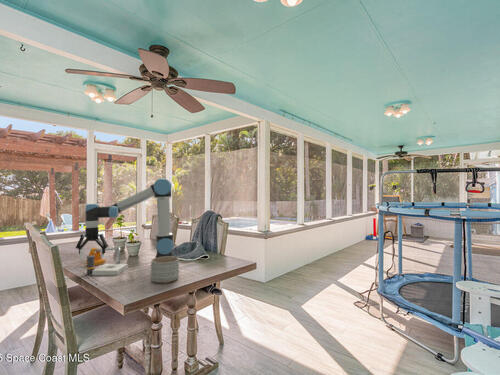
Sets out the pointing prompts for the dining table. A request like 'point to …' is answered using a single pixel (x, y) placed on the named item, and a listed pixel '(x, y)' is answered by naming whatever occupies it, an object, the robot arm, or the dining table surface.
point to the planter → (164, 269)
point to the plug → (90, 264)
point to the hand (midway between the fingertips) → (92, 258)
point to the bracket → (96, 257)
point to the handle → (116, 253)
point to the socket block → (110, 269)
